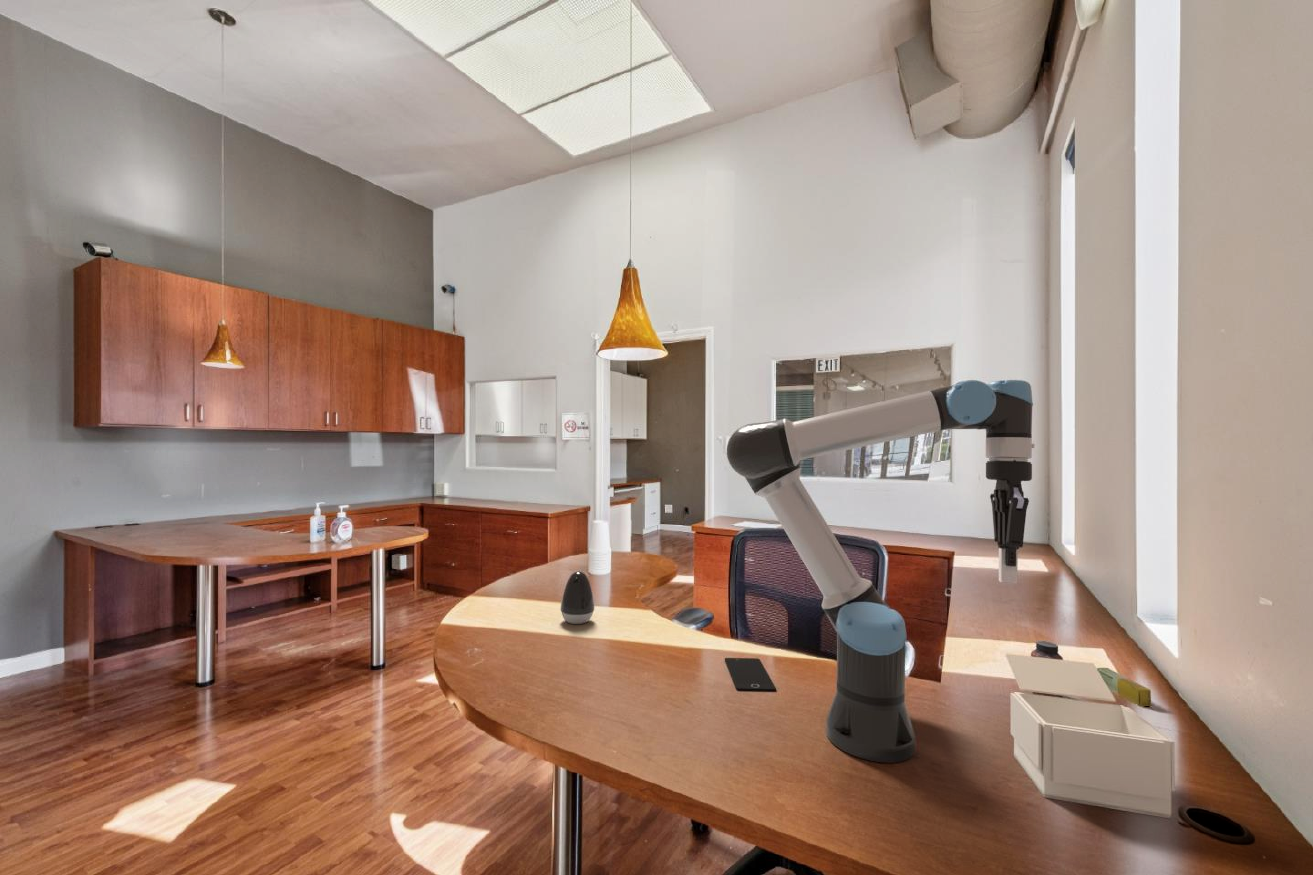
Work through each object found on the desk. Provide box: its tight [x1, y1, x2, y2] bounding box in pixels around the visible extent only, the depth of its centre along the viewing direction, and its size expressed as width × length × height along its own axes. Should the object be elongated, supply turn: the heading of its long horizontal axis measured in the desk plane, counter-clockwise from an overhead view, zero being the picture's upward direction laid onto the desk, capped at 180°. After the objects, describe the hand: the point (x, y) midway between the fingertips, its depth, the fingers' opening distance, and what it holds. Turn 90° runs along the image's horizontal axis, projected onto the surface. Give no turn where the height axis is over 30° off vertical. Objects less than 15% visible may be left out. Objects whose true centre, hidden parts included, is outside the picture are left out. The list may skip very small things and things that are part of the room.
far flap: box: [1005, 653, 1117, 703], centre depth 95 cm, size 14×8×1 cm, turn 75°
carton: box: [1010, 691, 1176, 819], centre depth 85 cm, size 17×13×11 cm
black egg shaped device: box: [560, 570, 595, 625], centre depth 162 cm, size 10×10×15 cm
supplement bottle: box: [1030, 640, 1064, 698], centre depth 119 cm, size 6×6×11 cm
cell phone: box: [724, 657, 777, 692], centre depth 126 cm, size 9×18×1 cm, turn 1°
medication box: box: [1096, 667, 1152, 708], centre depth 120 cm, size 12×3×4 cm, turn 177°
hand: (1007, 582), depth 103 cm, fingers closed
